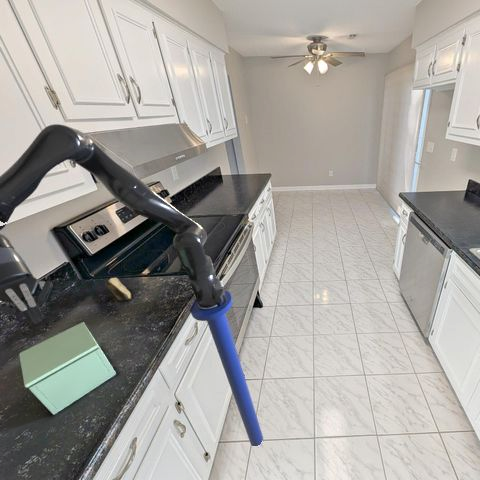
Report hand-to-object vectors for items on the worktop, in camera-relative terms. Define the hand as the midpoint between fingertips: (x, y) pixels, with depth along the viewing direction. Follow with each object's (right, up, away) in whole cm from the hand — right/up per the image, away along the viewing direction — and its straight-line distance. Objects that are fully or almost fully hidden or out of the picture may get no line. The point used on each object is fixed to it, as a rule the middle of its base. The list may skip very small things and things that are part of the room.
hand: (38, 321), depth 66 cm
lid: (+3, -9, +3) cm, 10 cm away
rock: (-11, -2, +44) cm, 45 cm away
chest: (+3, -19, +8) cm, 21 cm away
